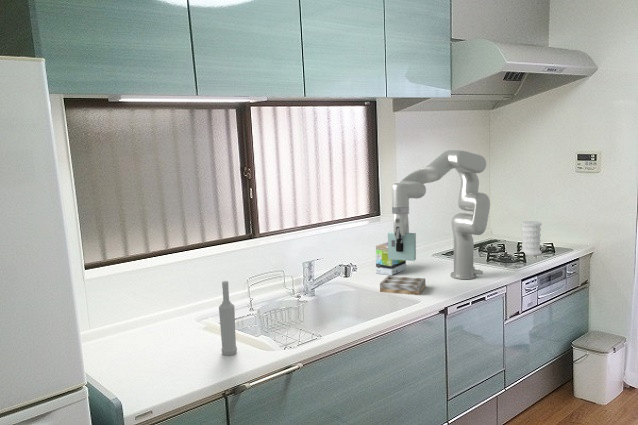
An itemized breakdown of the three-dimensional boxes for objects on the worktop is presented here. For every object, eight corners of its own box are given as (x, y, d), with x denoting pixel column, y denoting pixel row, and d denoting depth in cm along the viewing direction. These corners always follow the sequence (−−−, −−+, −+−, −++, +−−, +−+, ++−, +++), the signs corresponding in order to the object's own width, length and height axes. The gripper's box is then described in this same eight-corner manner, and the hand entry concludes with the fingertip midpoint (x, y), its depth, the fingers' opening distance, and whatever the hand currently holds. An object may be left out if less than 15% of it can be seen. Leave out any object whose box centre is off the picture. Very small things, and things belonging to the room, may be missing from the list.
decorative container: (543, 251, 321) (543, 221, 319) (539, 256, 312) (540, 224, 309) (522, 250, 327) (522, 220, 325) (518, 254, 317) (519, 223, 315)
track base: (425, 286, 259) (425, 278, 258) (418, 295, 246) (418, 286, 245) (388, 283, 266) (388, 275, 265) (380, 291, 253) (379, 283, 252)
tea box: (392, 276, 280) (392, 247, 278) (375, 273, 286) (374, 245, 284) (406, 269, 292) (406, 242, 289) (390, 267, 298) (389, 240, 296)
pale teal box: (415, 259, 250) (415, 233, 248) (414, 260, 247) (413, 234, 245) (390, 257, 255) (389, 232, 253) (388, 259, 252) (387, 233, 250)
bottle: (237, 355, 186) (233, 283, 182) (222, 357, 185) (217, 284, 181) (236, 349, 191) (232, 279, 187) (221, 351, 190) (217, 280, 186)
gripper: (404, 213, 239) (404, 255, 241) (413, 208, 254) (413, 247, 257) (387, 213, 242) (387, 254, 244) (397, 208, 257) (397, 246, 260)
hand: (400, 250), depth 250 cm, fingers closed on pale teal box, 3 cm apart
